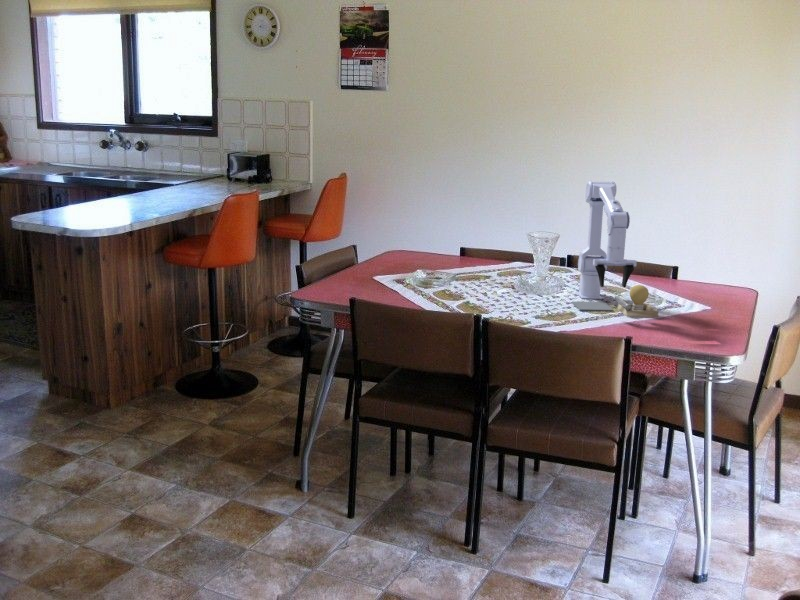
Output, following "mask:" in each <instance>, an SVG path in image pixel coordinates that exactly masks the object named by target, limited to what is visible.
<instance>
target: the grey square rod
mask: <svg viewBox="0 0 800 600" xmlns="http://www.w3.org/2000/svg"><path fill="white" fill-rule="evenodd" d="M614 300H615V301H616V302H617V303H618V304H621V305H622V306H624V307H625V308H626V309H625V310H631V304H632V303H627V302H626V301H625V300H624V299H622V298H621V297H620V296H619V295H615V296H614Z"/></svg>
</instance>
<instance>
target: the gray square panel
mask: <svg viewBox="0 0 800 600" xmlns="http://www.w3.org/2000/svg"><path fill="white" fill-rule="evenodd" d="M571 304H572V305H573V306H574V307H575V308H576V309H577V310H579V312H585V311H586V312H614V309H613V308H612V307H611V306H609V305H608V303H606V302H605V301H571Z"/></svg>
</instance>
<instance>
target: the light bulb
mask: <svg viewBox="0 0 800 600" xmlns="http://www.w3.org/2000/svg"><path fill="white" fill-rule="evenodd" d="M649 293H650V292H649V289H648V287H646V286H644V285H642V284H637V285H634V286H632V287H631V288H630V291H629V297H630V300H631V301H632V304H633V307H632V310H643V306H644V305H643V304H645V302H646V301H647V300H648V298H649Z"/></svg>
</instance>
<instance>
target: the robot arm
mask: <svg viewBox="0 0 800 600" xmlns="http://www.w3.org/2000/svg"><path fill="white" fill-rule="evenodd" d="M616 195H617V184H616V183H615V181H599V180H598V181H592V180H588V182H587V184H586V185H585V197H584V198H585V203H587V204H589V217H588V219H589V220H588V231H587V232H588V235H587V246H586V248H584V249H582V250H581V251H580V252H579V255H578V260H577V268H578V271H579V272H580V273H581V275H580V277H579V285H578V291H576V295H578V297H580V298H581V299H583V300H584V299H589V300H590V299H592V300H593V299H594V300H597V299H598V300H599V299H600V300H602V299H604V297H603V295H602V296H601V287H602V288H604V285H605V274H606V271H607V269H608V266H610V267H611V266H612V267H613V266H618V267H619V266H620V267H621V266H622V280H621V286H622V288H626V287H627V284H628V280H629V278H630V277H631V275H632V273H633V272H634V270H635V267H637V264H638V263H637V262H638V261H637V260H636V259H627V258H626V259H625V250H626V249H625V248H626V238H627V237H626V236H627V230H628V229H629V227H630V222H631V221H630V220H631V218H630V217H631V216H630V214H629V211H626V210H625V211H624V209H623V207H622V204H621V203H620V201H619V200H617V199H616V198H615V197H616ZM603 213H605V215H606V218H607V220H606V223H607V224H606V225H607V229H606V230H607V235H608V236H607V247H606V251H605V250H603V249H602V248H601V247H602V245H601V244H602V243H601V242H602V231H603V216H604V214H603Z"/></svg>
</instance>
